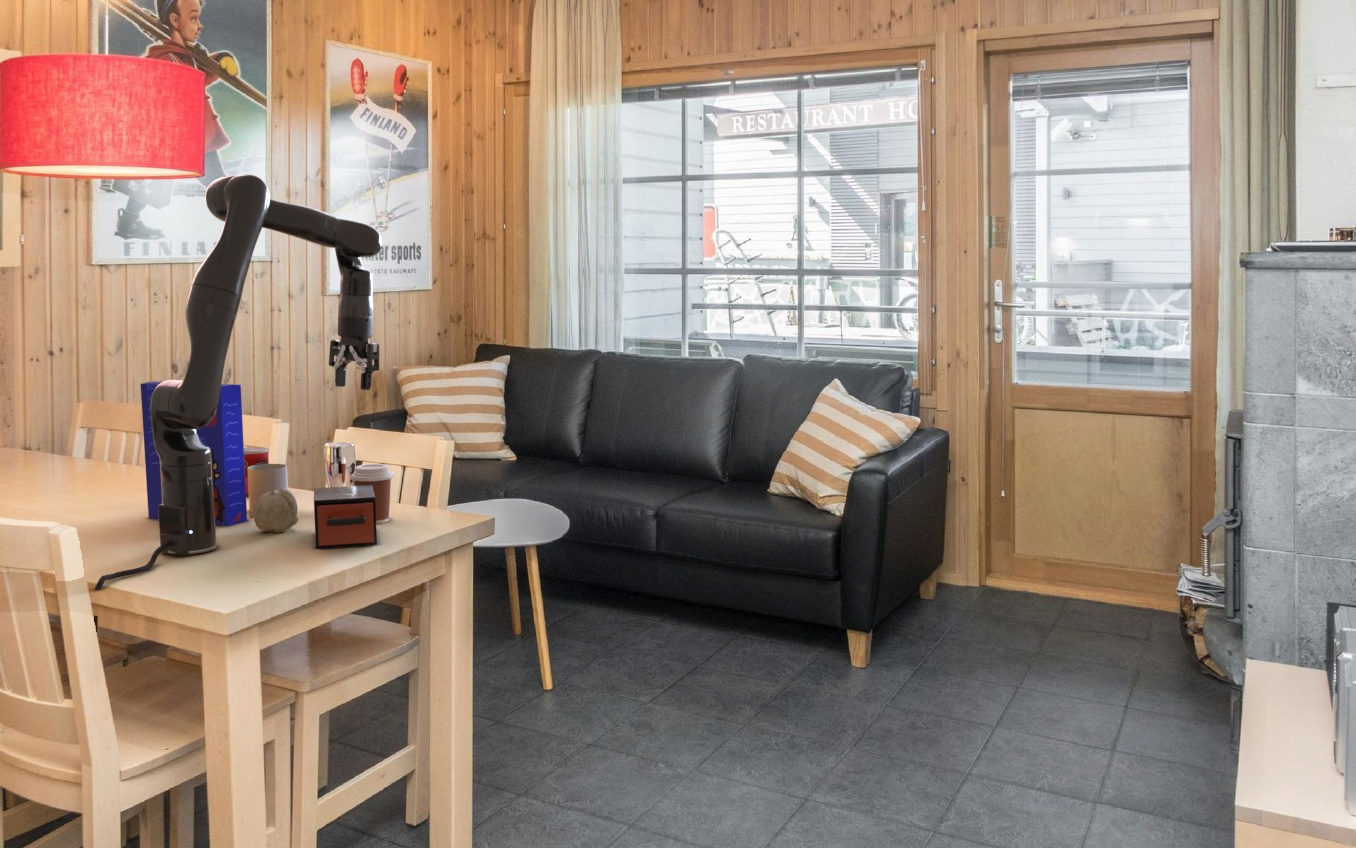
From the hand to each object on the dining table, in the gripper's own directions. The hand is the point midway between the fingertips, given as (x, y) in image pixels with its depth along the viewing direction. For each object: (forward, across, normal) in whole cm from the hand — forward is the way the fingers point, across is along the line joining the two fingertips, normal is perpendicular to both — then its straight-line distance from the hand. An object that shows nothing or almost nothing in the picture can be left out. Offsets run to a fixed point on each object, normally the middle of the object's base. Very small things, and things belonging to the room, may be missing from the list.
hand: (352, 388), depth 254 cm
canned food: (+29, -36, +1) cm, 47 cm away
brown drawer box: (+28, +25, -20) cm, 42 cm away
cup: (+29, -16, -9) cm, 35 cm away
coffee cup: (+28, +12, -3) cm, 31 cm away
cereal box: (+30, -21, -24) cm, 44 cm away
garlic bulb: (+30, +3, -22) cm, 37 cm away
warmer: (+29, +21, -18) cm, 40 cm away
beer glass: (+28, -4, +1) cm, 29 cm away
